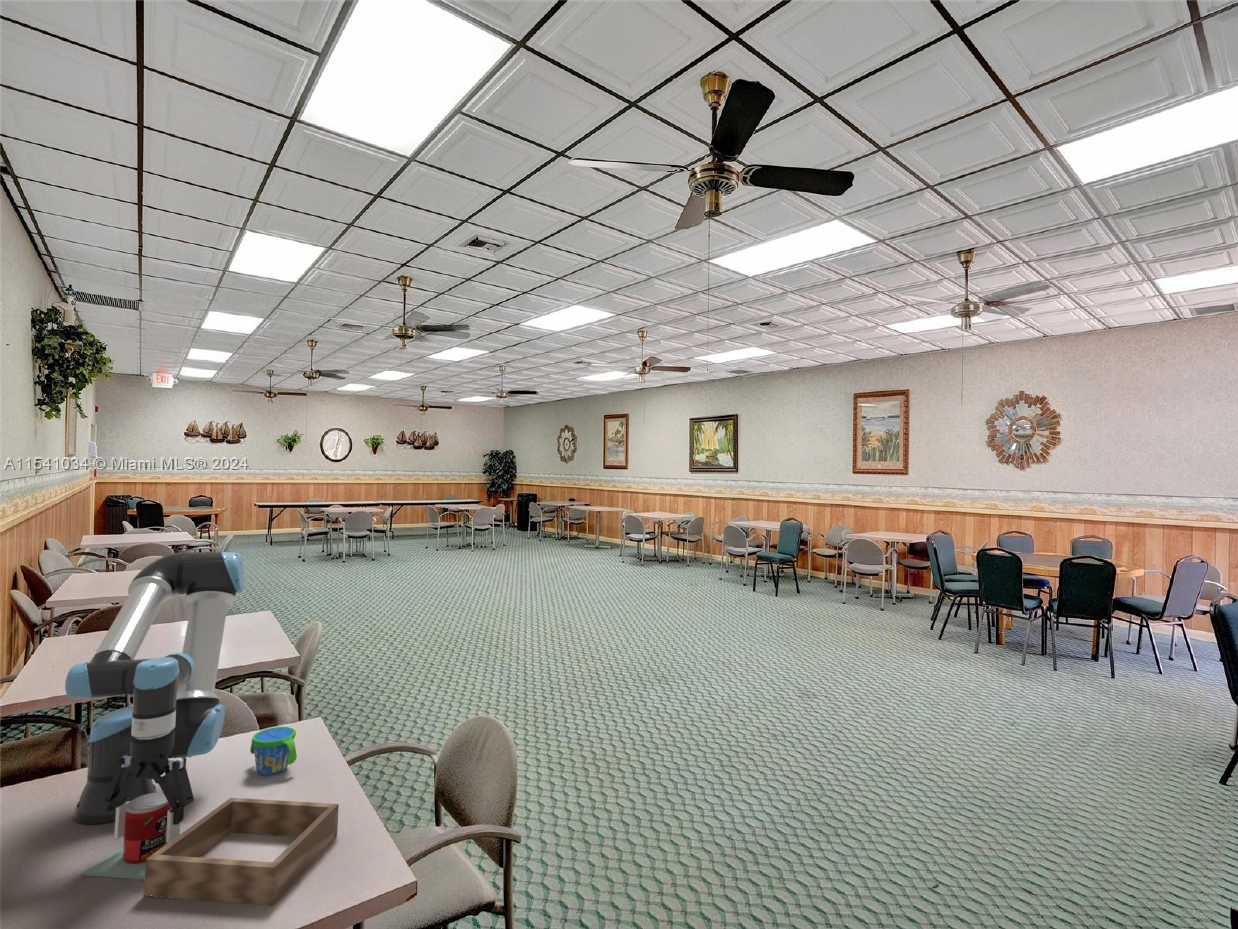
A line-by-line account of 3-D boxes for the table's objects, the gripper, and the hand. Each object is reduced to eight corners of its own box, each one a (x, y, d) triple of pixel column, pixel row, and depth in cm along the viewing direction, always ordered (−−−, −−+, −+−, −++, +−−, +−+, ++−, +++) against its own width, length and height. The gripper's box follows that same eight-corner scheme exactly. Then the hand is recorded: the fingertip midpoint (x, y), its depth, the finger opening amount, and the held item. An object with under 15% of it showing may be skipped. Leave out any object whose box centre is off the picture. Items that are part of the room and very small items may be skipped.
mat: (83, 875, 119) (83, 872, 119) (143, 835, 133) (143, 832, 133) (148, 880, 119) (149, 877, 119) (202, 839, 133) (202, 836, 133)
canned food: (143, 867, 121) (146, 812, 122) (112, 861, 123) (115, 807, 124) (177, 845, 129) (181, 794, 129) (148, 840, 131) (151, 789, 131)
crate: (143, 896, 114) (146, 859, 114) (229, 828, 137) (230, 797, 137) (272, 905, 112) (274, 867, 113) (337, 835, 135) (338, 804, 136)
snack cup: (307, 770, 166) (309, 733, 166) (270, 786, 156) (272, 747, 157) (274, 756, 173) (276, 721, 174) (237, 771, 164) (239, 734, 164)
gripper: (85, 737, 124) (78, 844, 123) (191, 743, 123) (184, 851, 122) (118, 723, 132) (111, 824, 131) (217, 728, 130) (212, 830, 129)
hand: (147, 837), depth 126 cm, fingers open, 11 cm apart
